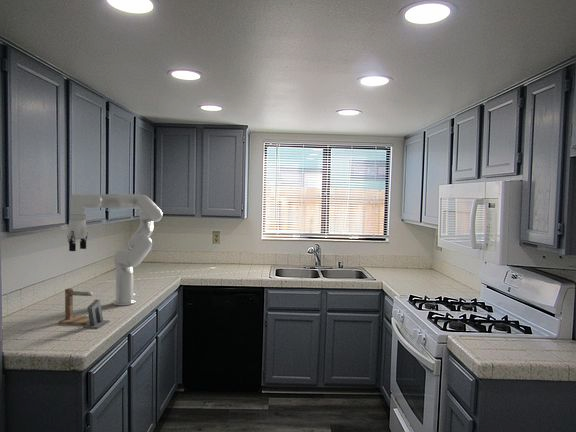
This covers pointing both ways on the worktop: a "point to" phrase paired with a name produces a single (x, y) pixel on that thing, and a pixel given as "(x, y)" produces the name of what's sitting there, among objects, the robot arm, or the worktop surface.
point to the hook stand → (69, 309)
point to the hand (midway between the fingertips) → (77, 249)
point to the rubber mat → (97, 324)
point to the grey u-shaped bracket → (95, 312)
